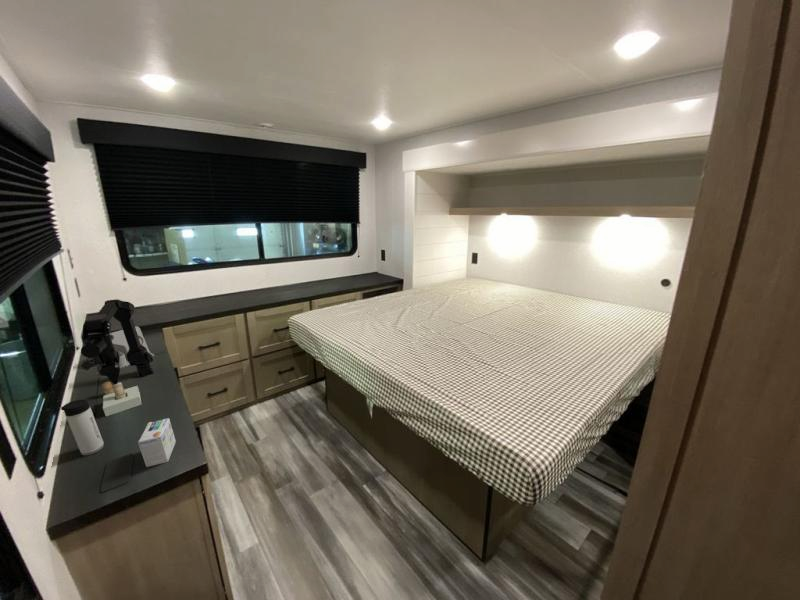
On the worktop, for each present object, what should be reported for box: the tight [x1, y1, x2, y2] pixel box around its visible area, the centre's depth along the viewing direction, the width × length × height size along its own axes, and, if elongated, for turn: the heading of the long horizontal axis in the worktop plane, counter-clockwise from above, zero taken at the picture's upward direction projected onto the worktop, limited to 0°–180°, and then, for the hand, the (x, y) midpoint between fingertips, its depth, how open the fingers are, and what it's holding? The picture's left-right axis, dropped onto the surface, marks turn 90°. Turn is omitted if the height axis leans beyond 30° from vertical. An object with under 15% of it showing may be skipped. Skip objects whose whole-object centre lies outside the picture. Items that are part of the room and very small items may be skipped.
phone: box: [100, 453, 135, 494], centre depth 108 cm, size 7×1×15 cm
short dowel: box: [101, 381, 114, 396], centre depth 150 cm, size 3×3×6 cm
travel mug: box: [60, 399, 105, 456], centre depth 115 cm, size 6×7×20 cm
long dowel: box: [112, 382, 126, 400], centre depth 142 cm, size 3×3×10 cm
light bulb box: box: [137, 417, 177, 468], centre depth 113 cm, size 11×7×11 cm, turn 21°
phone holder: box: [110, 325, 155, 369], centre depth 181 cm, size 17×10×18 cm, turn 146°
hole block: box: [102, 385, 142, 417], centre depth 143 cm, size 12×12×4 cm
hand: (115, 380), depth 140 cm, fingers open, 9 cm apart
